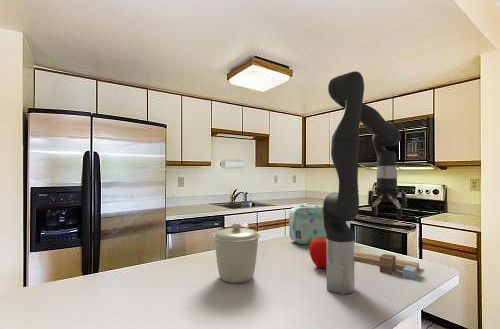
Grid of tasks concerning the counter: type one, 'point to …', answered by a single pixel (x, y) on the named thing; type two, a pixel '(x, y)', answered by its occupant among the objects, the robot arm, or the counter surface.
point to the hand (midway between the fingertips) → (387, 216)
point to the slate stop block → (410, 272)
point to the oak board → (376, 260)
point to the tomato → (319, 252)
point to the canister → (236, 253)
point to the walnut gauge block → (387, 263)
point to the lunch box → (306, 224)
